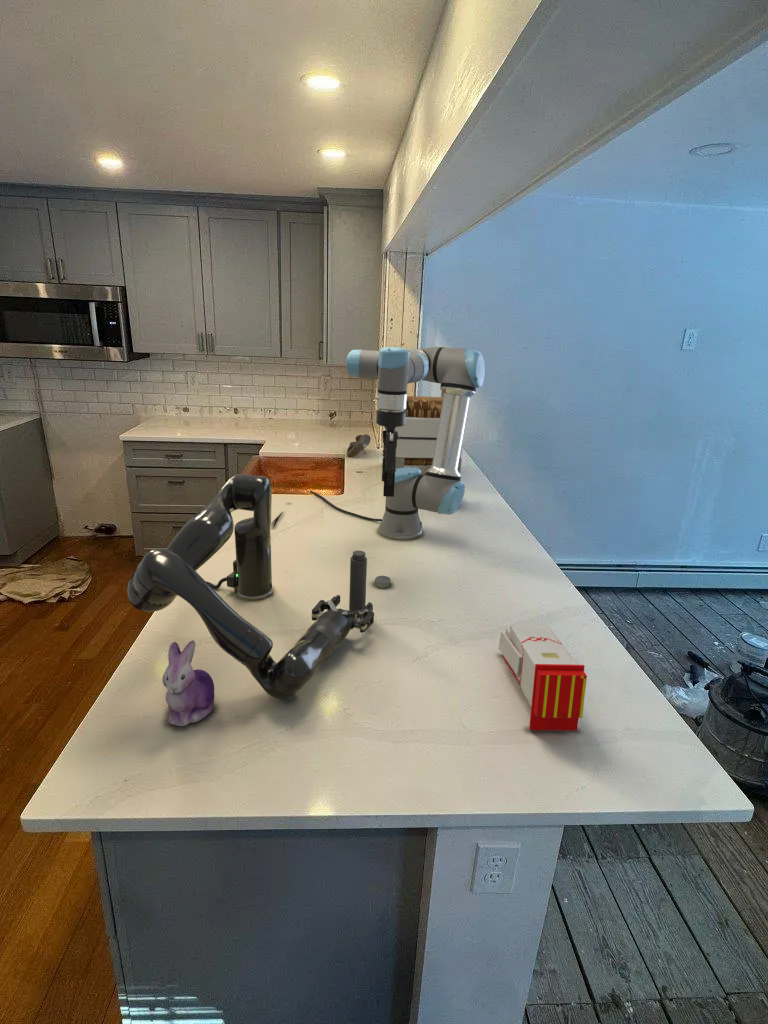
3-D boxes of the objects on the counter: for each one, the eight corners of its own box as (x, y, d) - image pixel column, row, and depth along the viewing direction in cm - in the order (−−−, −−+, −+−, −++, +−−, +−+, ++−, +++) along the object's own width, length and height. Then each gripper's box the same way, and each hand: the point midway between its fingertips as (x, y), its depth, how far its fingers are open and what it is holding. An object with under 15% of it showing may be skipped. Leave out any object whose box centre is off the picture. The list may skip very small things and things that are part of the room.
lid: (381, 579, 166) (382, 574, 165) (393, 584, 163) (394, 579, 163) (371, 584, 163) (371, 578, 162) (383, 589, 160) (383, 584, 159)
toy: (545, 610, 133) (596, 671, 104) (540, 662, 136) (588, 737, 106) (494, 609, 133) (530, 670, 103) (490, 662, 135) (524, 736, 106)
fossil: (346, 440, 316) (367, 425, 311) (357, 453, 319) (378, 438, 314) (340, 453, 296) (362, 438, 291) (351, 468, 299) (374, 452, 294)
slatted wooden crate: (382, 463, 289) (386, 382, 275) (445, 464, 293) (451, 384, 279) (390, 482, 257) (394, 392, 243) (460, 483, 261) (468, 394, 247)
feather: (289, 506, 225) (292, 502, 225) (272, 529, 199) (275, 525, 198) (286, 503, 225) (288, 500, 225) (268, 527, 199) (271, 522, 198)
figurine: (169, 735, 103) (162, 665, 98) (162, 702, 111) (154, 636, 106) (222, 721, 107) (218, 653, 102) (211, 689, 115) (206, 625, 110)
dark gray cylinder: (351, 621, 143) (353, 557, 137) (347, 613, 146) (348, 550, 140) (367, 619, 144) (369, 555, 138) (362, 611, 148) (364, 548, 142)
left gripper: (297, 641, 130) (328, 608, 145) (354, 656, 126) (380, 621, 140) (297, 612, 128) (329, 582, 142) (355, 627, 123) (382, 594, 138)
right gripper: (375, 401, 158) (373, 474, 165) (377, 418, 134) (374, 502, 141) (402, 402, 158) (398, 475, 165) (409, 419, 135) (404, 503, 142)
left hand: (354, 602), depth 141 cm, fingers open, 8 cm apart
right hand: (387, 488), depth 153 cm, fingers open, 13 cm apart
